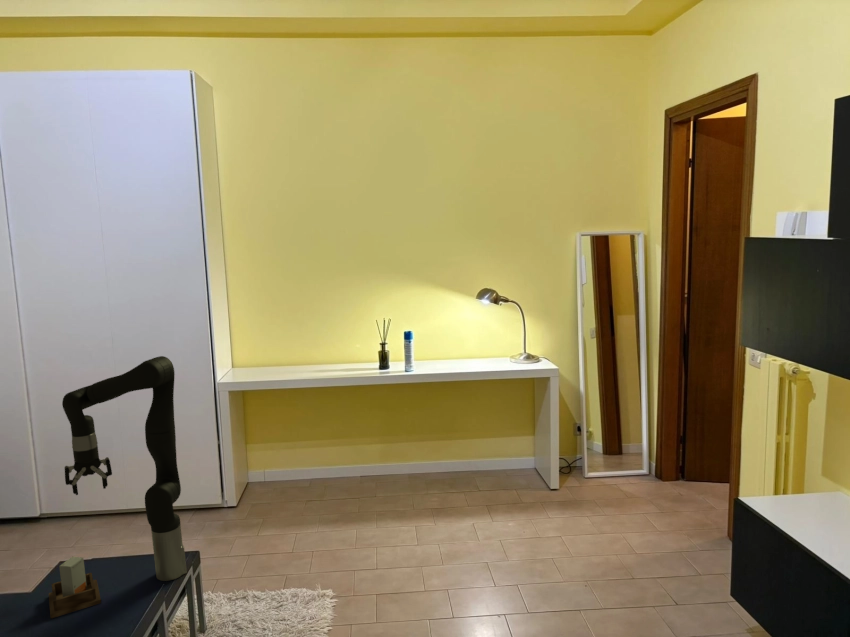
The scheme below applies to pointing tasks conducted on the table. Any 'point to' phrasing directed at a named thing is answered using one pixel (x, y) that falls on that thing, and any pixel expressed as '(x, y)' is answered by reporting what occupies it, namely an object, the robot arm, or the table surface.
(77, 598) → the walnut stand
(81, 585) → the skincare box
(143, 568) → the table surface
